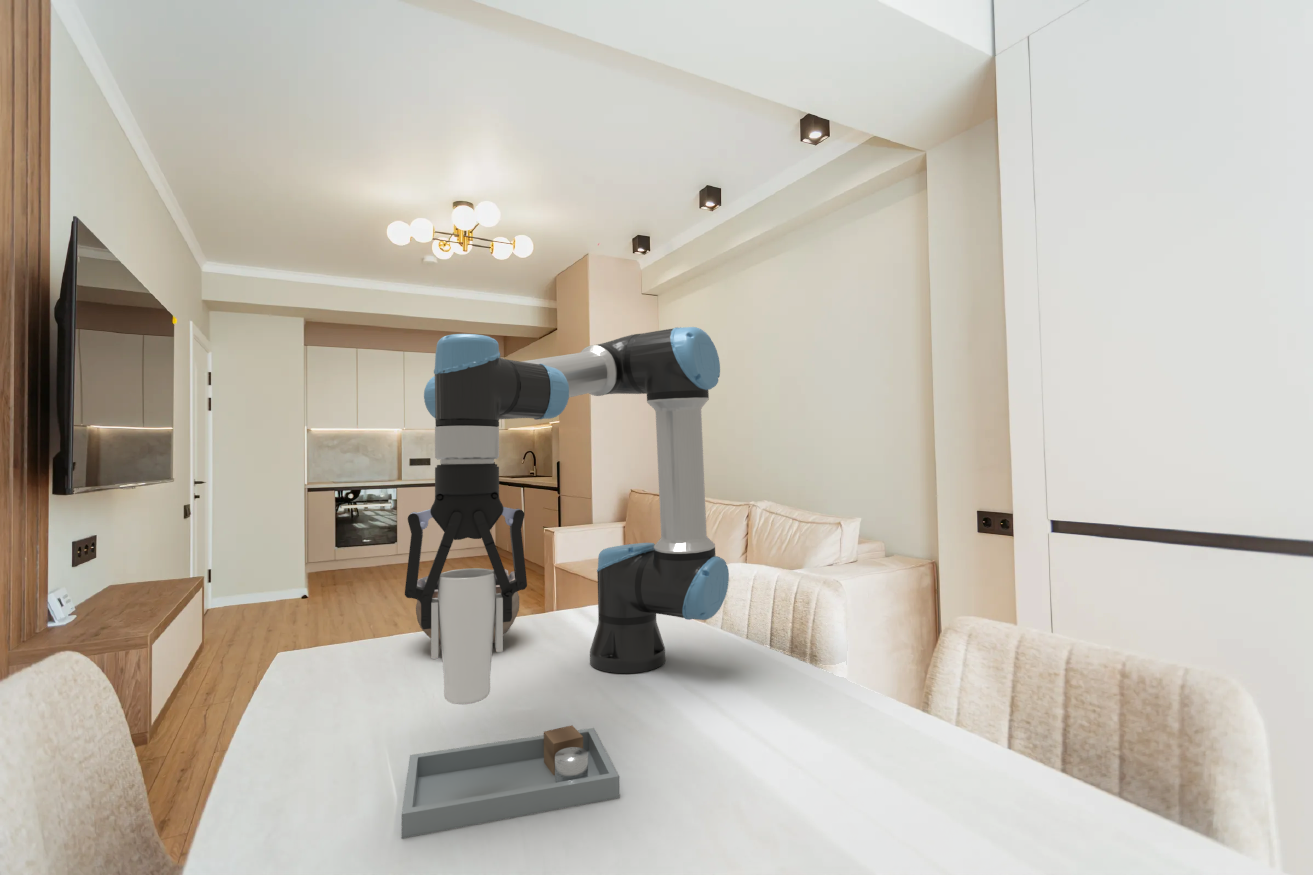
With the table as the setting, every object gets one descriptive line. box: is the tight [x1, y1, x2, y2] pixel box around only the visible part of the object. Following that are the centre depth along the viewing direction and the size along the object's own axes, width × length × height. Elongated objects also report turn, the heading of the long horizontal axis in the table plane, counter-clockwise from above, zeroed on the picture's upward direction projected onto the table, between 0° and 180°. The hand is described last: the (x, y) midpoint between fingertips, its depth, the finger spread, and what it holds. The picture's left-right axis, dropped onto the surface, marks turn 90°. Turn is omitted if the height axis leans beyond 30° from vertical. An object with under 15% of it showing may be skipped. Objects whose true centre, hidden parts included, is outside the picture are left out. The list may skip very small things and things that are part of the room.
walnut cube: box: [543, 724, 583, 775], centre depth 82 cm, size 4×4×4 cm
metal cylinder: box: [555, 747, 588, 783], centre depth 77 cm, size 4×4×4 cm
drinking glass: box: [438, 568, 496, 705], centre depth 76 cm, size 7×7×15 cm
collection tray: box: [401, 727, 621, 839], centre depth 77 cm, size 24×14×3 cm, turn 108°
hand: (467, 651), depth 76 cm, fingers closed on drinking glass, 7 cm apart
